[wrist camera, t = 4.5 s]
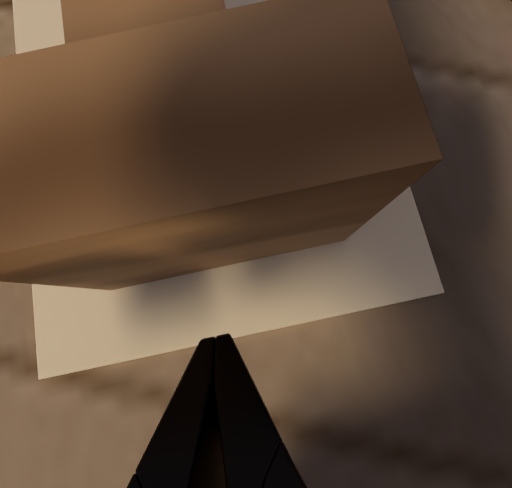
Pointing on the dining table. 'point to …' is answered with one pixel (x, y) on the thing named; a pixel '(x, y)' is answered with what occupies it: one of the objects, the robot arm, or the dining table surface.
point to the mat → (223, 275)
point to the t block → (201, 137)
